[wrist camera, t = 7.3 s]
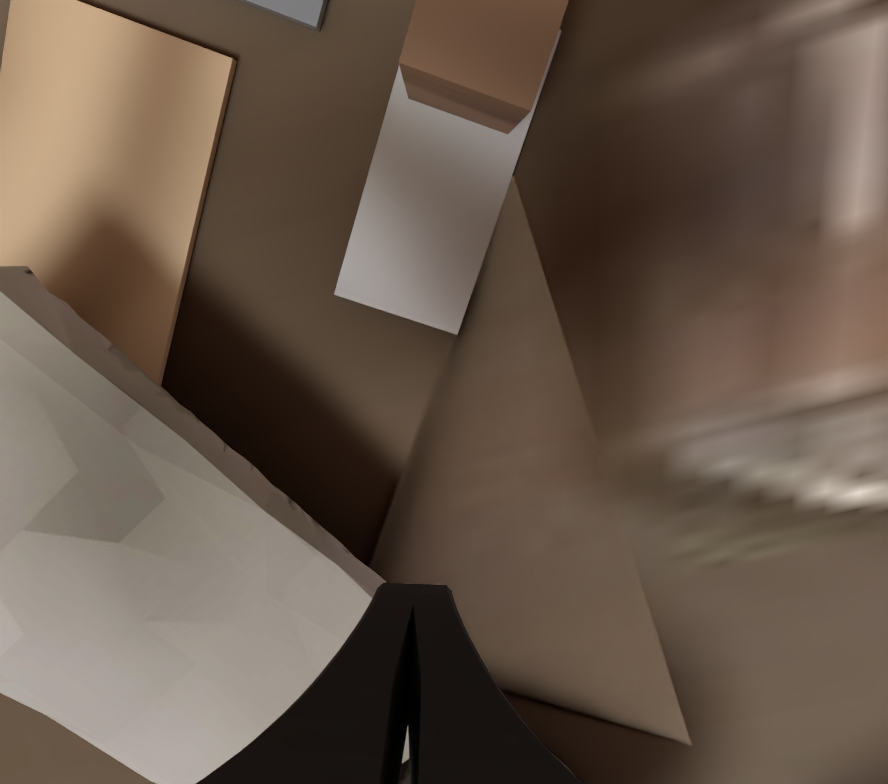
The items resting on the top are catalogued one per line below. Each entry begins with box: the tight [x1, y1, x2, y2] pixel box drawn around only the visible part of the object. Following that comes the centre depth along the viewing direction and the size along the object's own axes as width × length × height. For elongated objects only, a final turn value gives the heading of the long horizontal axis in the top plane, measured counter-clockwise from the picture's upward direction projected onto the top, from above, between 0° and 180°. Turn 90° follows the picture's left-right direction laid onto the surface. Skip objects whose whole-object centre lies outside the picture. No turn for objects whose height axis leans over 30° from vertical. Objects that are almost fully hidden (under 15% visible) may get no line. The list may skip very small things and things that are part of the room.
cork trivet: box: [0, 0, 237, 386], centre depth 20 cm, size 6×19×1 cm, turn 161°
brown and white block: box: [334, 0, 569, 335], centre depth 17 cm, size 9×4×5 cm, turn 162°
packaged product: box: [0, 266, 409, 784], centre depth 20 cm, size 18×5×10 cm
